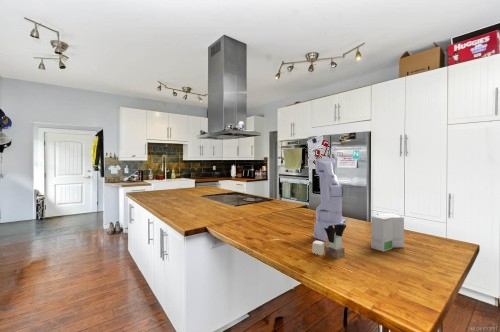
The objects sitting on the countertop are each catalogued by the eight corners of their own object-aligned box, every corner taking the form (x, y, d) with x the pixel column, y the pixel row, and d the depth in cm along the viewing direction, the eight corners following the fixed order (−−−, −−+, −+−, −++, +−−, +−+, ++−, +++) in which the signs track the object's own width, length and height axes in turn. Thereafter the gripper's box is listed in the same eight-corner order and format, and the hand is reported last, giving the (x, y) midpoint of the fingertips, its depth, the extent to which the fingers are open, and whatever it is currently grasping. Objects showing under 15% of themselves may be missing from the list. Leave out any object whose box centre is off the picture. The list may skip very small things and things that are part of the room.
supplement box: (393, 241, 121) (393, 213, 121) (404, 247, 112) (404, 217, 112) (375, 241, 121) (376, 213, 121) (385, 247, 112) (386, 217, 112)
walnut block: (325, 255, 105) (325, 246, 105) (332, 251, 109) (332, 243, 109) (337, 259, 100) (337, 250, 100) (344, 256, 104) (344, 247, 104)
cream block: (312, 253, 107) (312, 242, 107) (316, 250, 110) (316, 240, 110) (320, 255, 105) (320, 244, 104) (324, 252, 108) (324, 242, 107)
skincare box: (383, 252, 107) (383, 219, 107) (369, 247, 113) (370, 216, 112) (393, 248, 111) (393, 216, 111) (379, 244, 117) (380, 213, 116)
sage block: (328, 246, 105) (328, 236, 105) (334, 244, 107) (334, 234, 107) (336, 249, 101) (336, 238, 101) (341, 247, 104) (341, 236, 104)
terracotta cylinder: (324, 246, 114) (324, 237, 114) (329, 245, 117) (329, 235, 116) (331, 249, 111) (331, 239, 111) (336, 247, 113) (336, 237, 113)
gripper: (332, 215, 97) (332, 247, 97) (352, 210, 105) (352, 240, 105) (318, 212, 102) (318, 242, 103) (338, 207, 110) (338, 235, 111)
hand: (334, 240), depth 104 cm, fingers open, 5 cm apart
